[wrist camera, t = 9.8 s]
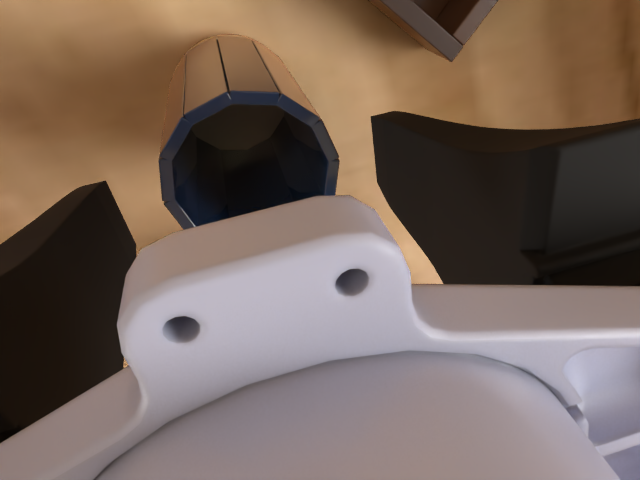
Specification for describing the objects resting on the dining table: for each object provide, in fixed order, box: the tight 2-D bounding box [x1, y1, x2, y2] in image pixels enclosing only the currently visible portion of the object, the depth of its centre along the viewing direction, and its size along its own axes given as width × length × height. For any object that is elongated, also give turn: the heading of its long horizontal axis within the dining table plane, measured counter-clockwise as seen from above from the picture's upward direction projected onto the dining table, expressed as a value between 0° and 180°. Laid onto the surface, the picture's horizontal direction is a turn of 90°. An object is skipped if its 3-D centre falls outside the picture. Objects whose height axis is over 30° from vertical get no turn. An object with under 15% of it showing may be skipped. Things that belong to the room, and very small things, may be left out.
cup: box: [159, 34, 340, 230], centre depth 16 cm, size 5×5×8 cm
